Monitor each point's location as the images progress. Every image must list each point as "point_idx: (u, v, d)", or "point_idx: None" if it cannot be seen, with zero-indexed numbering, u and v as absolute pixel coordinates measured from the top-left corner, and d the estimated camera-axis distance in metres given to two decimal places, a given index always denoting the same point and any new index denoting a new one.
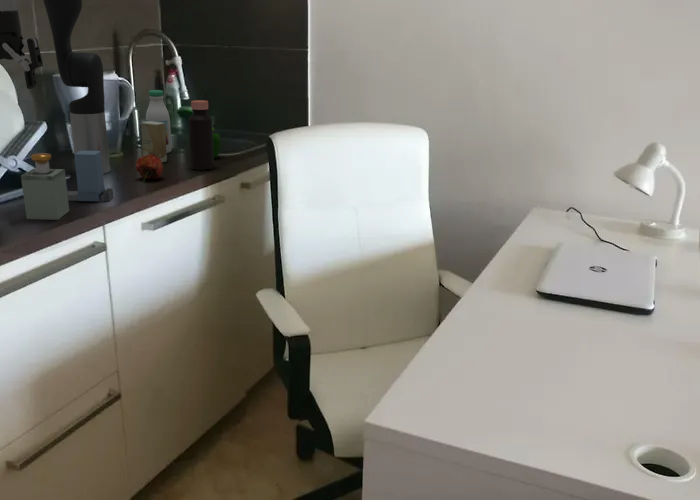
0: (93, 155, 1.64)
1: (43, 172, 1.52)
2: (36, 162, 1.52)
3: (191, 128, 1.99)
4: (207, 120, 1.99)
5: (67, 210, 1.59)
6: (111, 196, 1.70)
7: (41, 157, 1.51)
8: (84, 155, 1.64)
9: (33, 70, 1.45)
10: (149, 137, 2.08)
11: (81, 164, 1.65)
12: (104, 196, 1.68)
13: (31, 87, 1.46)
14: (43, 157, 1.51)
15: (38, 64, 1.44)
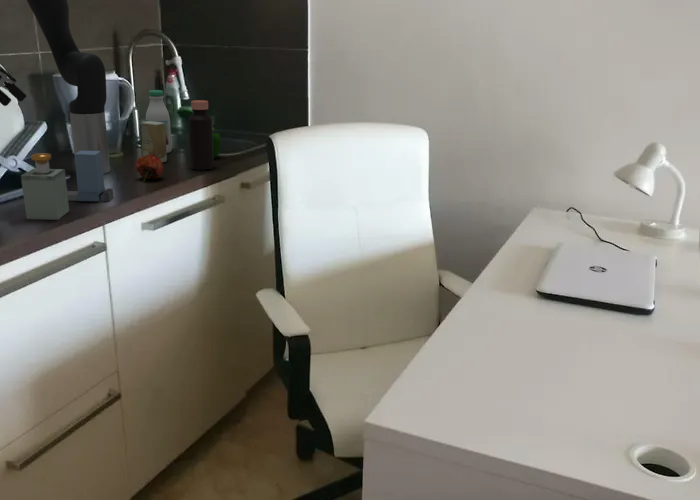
0: (93, 155, 1.64)
1: (43, 172, 1.52)
2: (36, 162, 1.52)
3: (191, 128, 1.99)
4: (207, 120, 1.99)
5: (67, 210, 1.59)
6: (111, 196, 1.70)
7: (41, 157, 1.51)
8: (84, 155, 1.64)
9: None
10: (149, 137, 2.08)
11: (81, 164, 1.65)
12: (104, 196, 1.68)
13: (5, 103, 1.60)
14: (43, 157, 1.51)
15: None
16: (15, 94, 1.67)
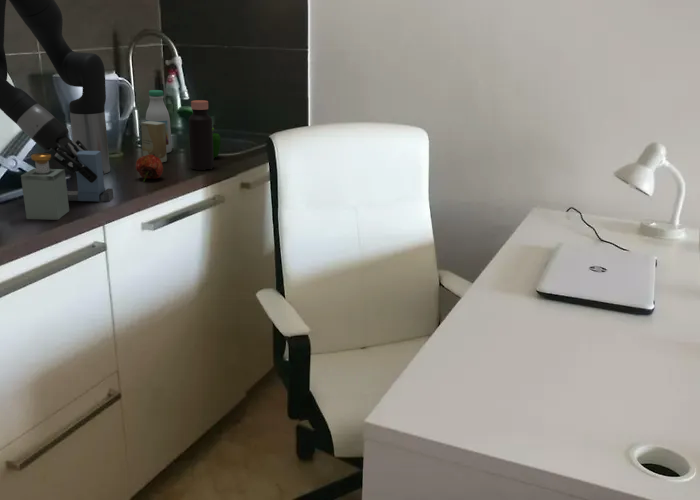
0: (93, 155, 1.64)
1: (43, 172, 1.52)
2: (36, 162, 1.52)
3: (191, 128, 1.99)
4: (207, 120, 1.99)
5: (67, 210, 1.59)
6: (111, 196, 1.70)
7: (41, 157, 1.51)
8: (84, 155, 1.64)
9: (80, 170, 1.64)
10: (149, 137, 2.08)
11: None
12: (104, 196, 1.68)
13: (92, 180, 1.66)
14: (43, 157, 1.51)
15: (72, 169, 1.62)
16: None
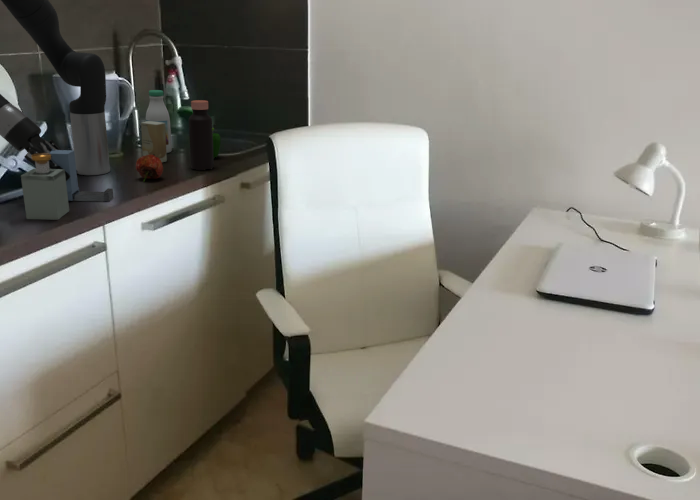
0: (66, 154, 1.64)
1: (43, 172, 1.52)
2: (36, 162, 1.52)
3: (191, 128, 1.99)
4: (207, 120, 1.99)
5: (67, 210, 1.59)
6: (111, 196, 1.70)
7: (41, 157, 1.51)
8: (57, 154, 1.64)
9: None
10: (149, 137, 2.08)
11: None
12: (104, 196, 1.68)
13: None
14: (43, 157, 1.51)
15: None
16: None
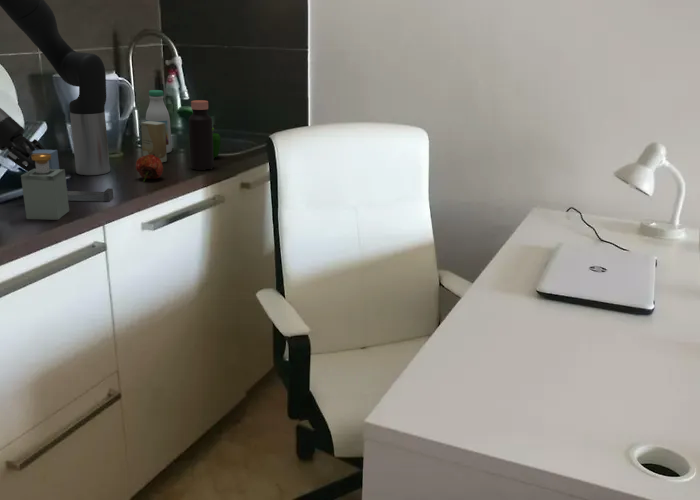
0: None
1: (43, 172, 1.52)
2: (36, 162, 1.52)
3: (191, 128, 1.99)
4: (207, 120, 1.99)
5: (67, 210, 1.59)
6: (111, 196, 1.70)
7: (41, 157, 1.51)
8: None
9: None
10: (149, 137, 2.08)
11: None
12: (104, 196, 1.68)
13: None
14: (43, 157, 1.51)
15: (26, 168, 1.62)
16: None
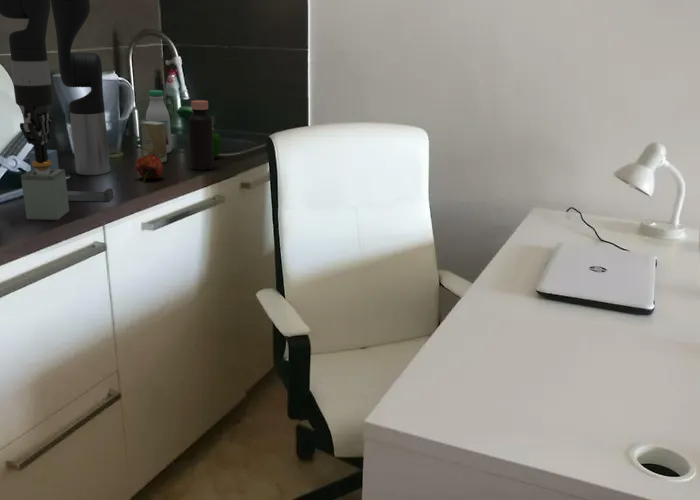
0: (48, 154, 1.64)
1: None
2: (37, 169, 1.52)
3: (191, 128, 1.99)
4: (207, 120, 1.99)
5: (67, 210, 1.59)
6: (111, 196, 1.70)
7: (42, 164, 1.51)
8: None
9: (36, 145, 1.50)
10: (149, 137, 2.08)
11: None
12: (104, 196, 1.68)
13: (38, 160, 1.52)
14: (44, 164, 1.51)
15: (29, 141, 1.48)
16: None
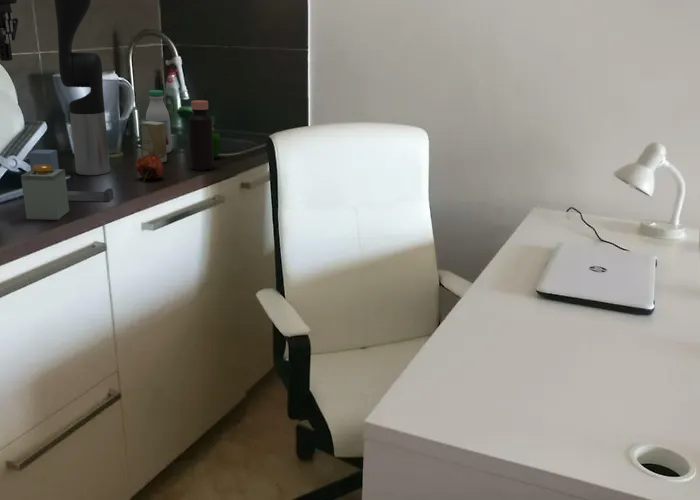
0: (48, 154, 1.64)
1: None
2: (37, 173, 1.52)
3: (191, 128, 1.99)
4: (207, 120, 1.99)
5: (67, 210, 1.59)
6: (111, 196, 1.70)
7: (42, 168, 1.51)
8: (39, 154, 1.64)
9: (1, 43, 1.57)
10: (149, 137, 2.08)
11: (36, 163, 1.65)
12: (104, 196, 1.68)
13: (3, 59, 1.59)
14: (44, 168, 1.52)
15: None
16: None
